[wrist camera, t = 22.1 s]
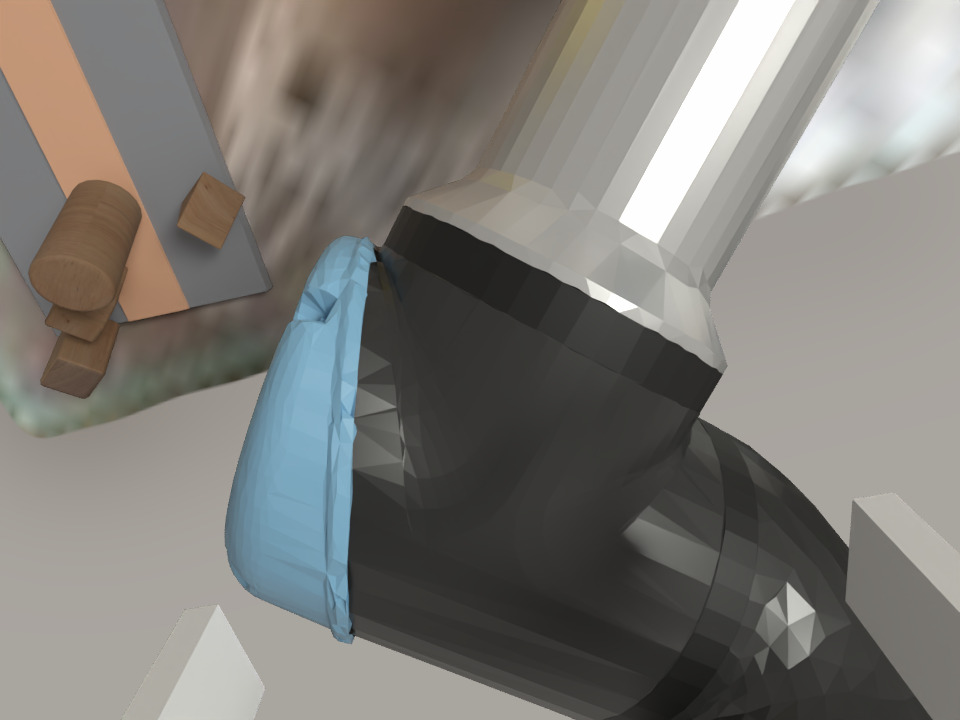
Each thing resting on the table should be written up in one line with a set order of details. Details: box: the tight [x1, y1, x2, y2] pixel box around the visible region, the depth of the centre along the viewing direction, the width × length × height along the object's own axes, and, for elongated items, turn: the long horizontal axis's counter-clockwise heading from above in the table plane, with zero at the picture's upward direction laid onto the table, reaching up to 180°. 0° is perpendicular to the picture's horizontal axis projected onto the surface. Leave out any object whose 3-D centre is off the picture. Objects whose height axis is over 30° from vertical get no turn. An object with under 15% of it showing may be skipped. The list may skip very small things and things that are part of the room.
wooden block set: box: [28, 172, 245, 399], centre depth 39 cm, size 18×9×10 cm, turn 137°
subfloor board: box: [0, 0, 273, 336], centre depth 40 cm, size 18×24×2 cm
